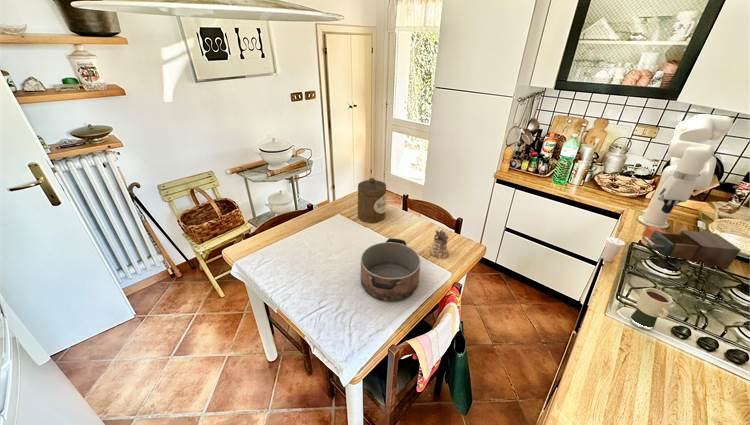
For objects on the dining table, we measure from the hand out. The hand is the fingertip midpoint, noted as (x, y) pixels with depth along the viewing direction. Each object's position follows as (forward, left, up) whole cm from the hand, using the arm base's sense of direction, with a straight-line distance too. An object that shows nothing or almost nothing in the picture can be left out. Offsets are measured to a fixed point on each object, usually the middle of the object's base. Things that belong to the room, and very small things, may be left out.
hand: (665, 211), depth 142 cm
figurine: (+33, -103, -15) cm, 109 cm away
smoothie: (+23, -30, -15) cm, 40 cm away
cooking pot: (+55, -122, -15) cm, 135 cm away
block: (0, 0, -15) cm, 15 cm away
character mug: (+60, -36, -15) cm, 72 cm away
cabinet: (+14, +11, -15) cm, 23 cm away
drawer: (+14, -3, -14) cm, 20 cm away
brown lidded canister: (+5, -138, -15) cm, 139 cm away
